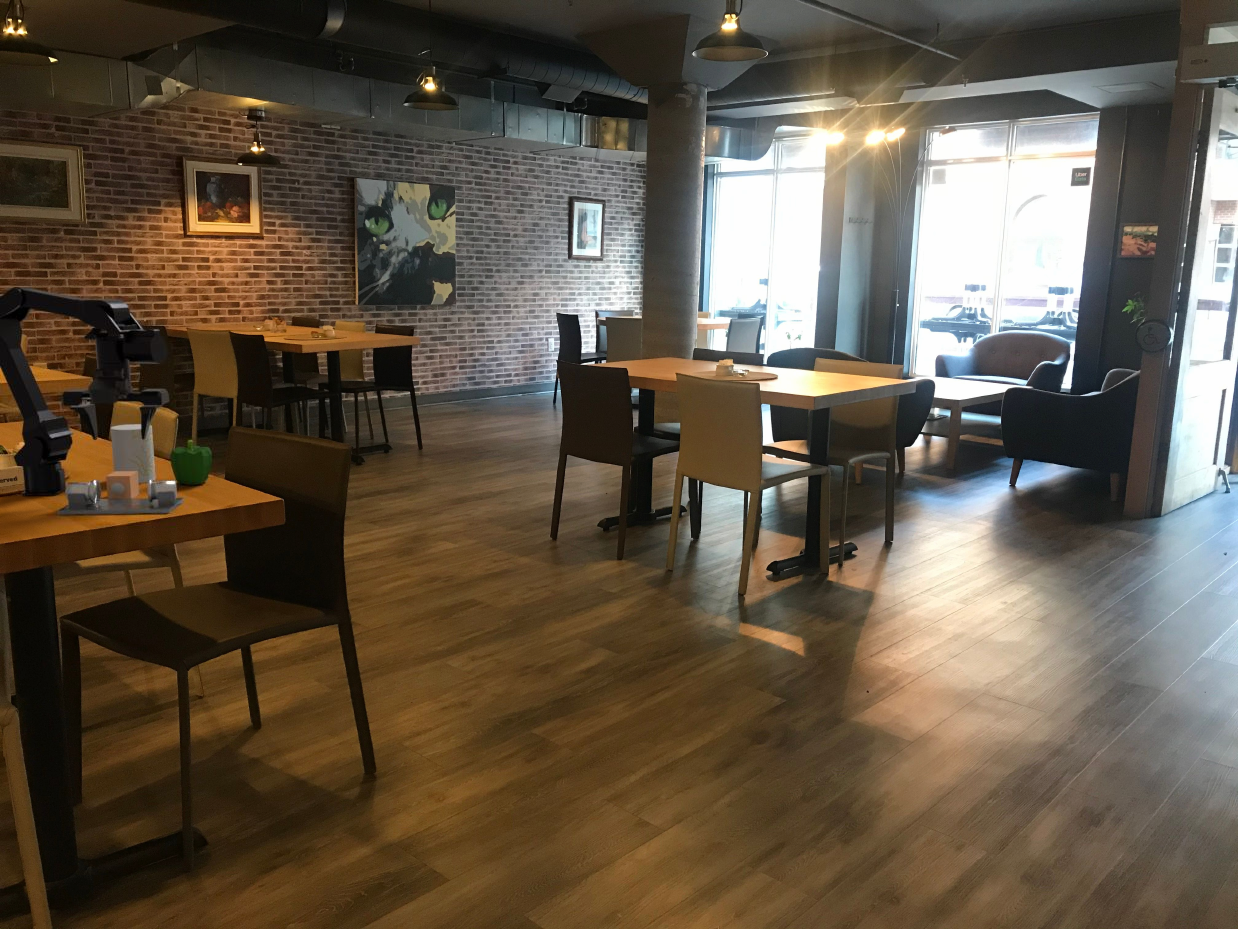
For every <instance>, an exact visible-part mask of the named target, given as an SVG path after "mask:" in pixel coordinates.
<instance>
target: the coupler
mask: <svg viewBox="0 0 1238 929" xmlns="http://www.w3.org/2000/svg"><path fill="white" fill-rule="evenodd" d="M105 481H106V494H107V496H106V497H107V499H119V498H136V497H138V496H139V495H140V486H139V482H138V471H114V470H113V472H111V473H109V474H107V475H106V476H105ZM137 495H138V496H137Z"/></svg>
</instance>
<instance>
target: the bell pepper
mask: <svg viewBox="0 0 1238 929" xmlns="http://www.w3.org/2000/svg"><path fill="white" fill-rule="evenodd" d="M193 444H194V441H193V440H192V439H188V440H187V447H184V446H177V447H176V448H174V449H172V450H171V452H170V456H169V457H170V458H169V459H170V466H171V470H172V473H173V475H174V478H175V480H176V483H178V484H180V485H188V486H196V485H202V484H204V483H205V482H207V480H208V478H209V477H210V473H211V472H210V471H211V468H212V463H213V462H212V451H211V449H210V447H208V446H199V445H193ZM208 475H209V476H208Z"/></svg>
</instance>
